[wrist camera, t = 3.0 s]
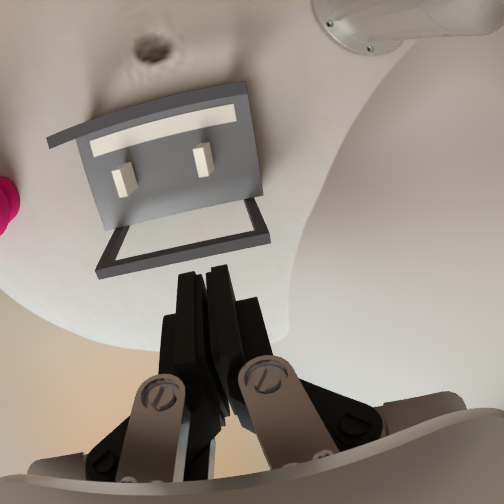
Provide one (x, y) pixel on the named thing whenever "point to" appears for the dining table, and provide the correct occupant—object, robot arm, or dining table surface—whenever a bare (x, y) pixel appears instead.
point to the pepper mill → (7, 203)
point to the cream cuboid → (203, 159)
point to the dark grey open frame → (137, 263)
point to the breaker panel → (173, 161)
